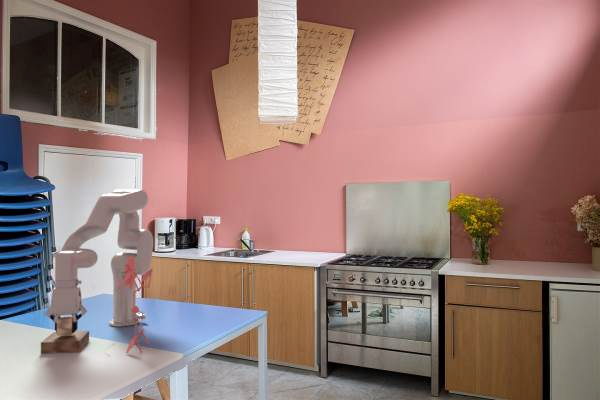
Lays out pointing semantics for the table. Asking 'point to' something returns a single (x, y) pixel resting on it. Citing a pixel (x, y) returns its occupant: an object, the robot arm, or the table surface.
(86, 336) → the walnut base
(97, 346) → the table surface
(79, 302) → the robot arm
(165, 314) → the table surface
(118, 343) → the table surface
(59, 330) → the maple block
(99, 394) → the table surface
